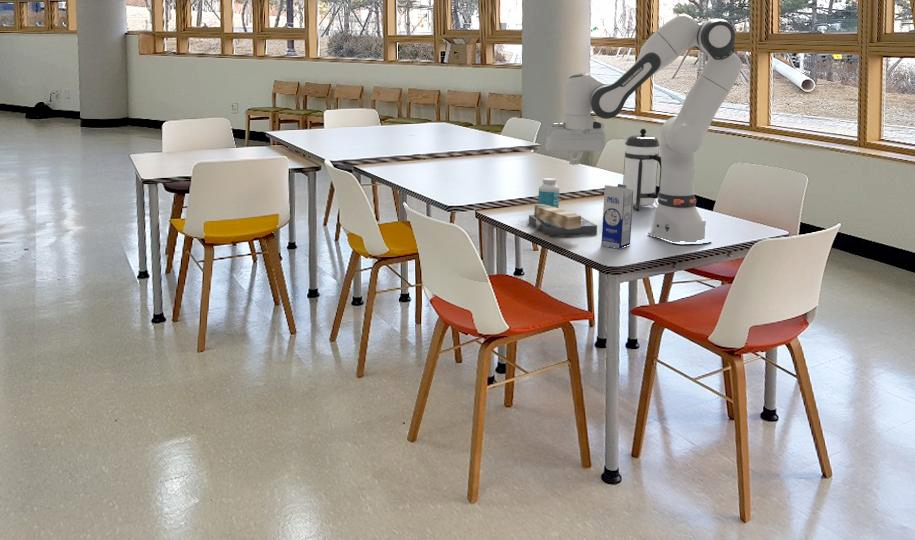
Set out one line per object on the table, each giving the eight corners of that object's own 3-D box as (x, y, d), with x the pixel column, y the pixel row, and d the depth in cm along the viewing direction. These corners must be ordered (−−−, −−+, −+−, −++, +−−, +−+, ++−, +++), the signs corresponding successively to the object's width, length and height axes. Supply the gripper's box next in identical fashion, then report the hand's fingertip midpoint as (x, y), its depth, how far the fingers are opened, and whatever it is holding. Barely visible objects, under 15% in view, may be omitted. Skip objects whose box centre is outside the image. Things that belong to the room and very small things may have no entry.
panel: (596, 234, 321) (597, 222, 320) (546, 236, 316) (547, 224, 315) (573, 221, 340) (574, 209, 339) (526, 223, 335) (526, 211, 334)
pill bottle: (557, 218, 344) (558, 181, 340) (536, 217, 346) (538, 180, 342) (559, 213, 351) (560, 177, 348) (539, 212, 353) (540, 176, 349)
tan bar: (531, 216, 325) (531, 205, 324) (543, 215, 328) (543, 203, 327) (568, 229, 308) (568, 217, 307) (580, 227, 310) (581, 215, 309)
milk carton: (600, 245, 306) (604, 184, 300) (611, 242, 311) (614, 181, 305) (620, 249, 302) (624, 187, 296) (630, 245, 307) (634, 184, 301)
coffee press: (615, 210, 359) (620, 130, 351) (621, 202, 374) (626, 125, 365) (662, 213, 354) (668, 132, 346) (666, 205, 369) (671, 127, 360)
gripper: (551, 124, 310) (549, 166, 313) (608, 123, 316) (605, 165, 319) (543, 122, 315) (541, 163, 319) (600, 121, 321) (597, 162, 325)
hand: (574, 164), depth 319 cm, fingers closed
